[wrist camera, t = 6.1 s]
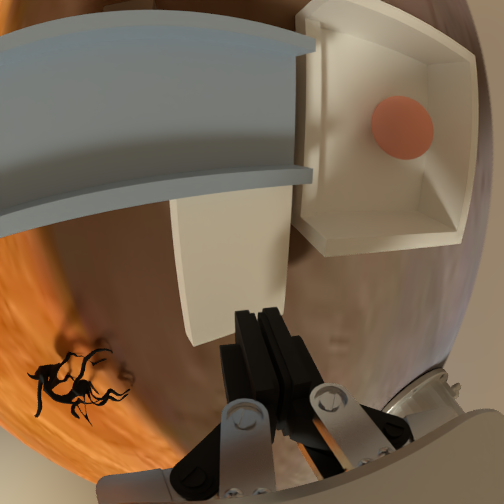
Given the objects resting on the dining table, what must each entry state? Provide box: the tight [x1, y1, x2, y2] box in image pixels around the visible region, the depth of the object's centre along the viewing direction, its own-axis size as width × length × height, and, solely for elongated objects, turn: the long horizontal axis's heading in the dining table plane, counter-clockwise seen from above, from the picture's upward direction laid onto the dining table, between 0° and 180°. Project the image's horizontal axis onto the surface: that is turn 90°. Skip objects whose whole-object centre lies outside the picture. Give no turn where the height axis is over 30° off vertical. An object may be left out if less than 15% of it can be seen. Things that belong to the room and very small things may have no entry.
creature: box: [27, 349, 130, 427], centre depth 15 cm, size 8×5×8 cm
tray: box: [291, 0, 479, 257], centre depth 12 cm, size 10×12×4 cm
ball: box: [371, 96, 434, 160], centre depth 12 cm, size 4×4×4 cm
